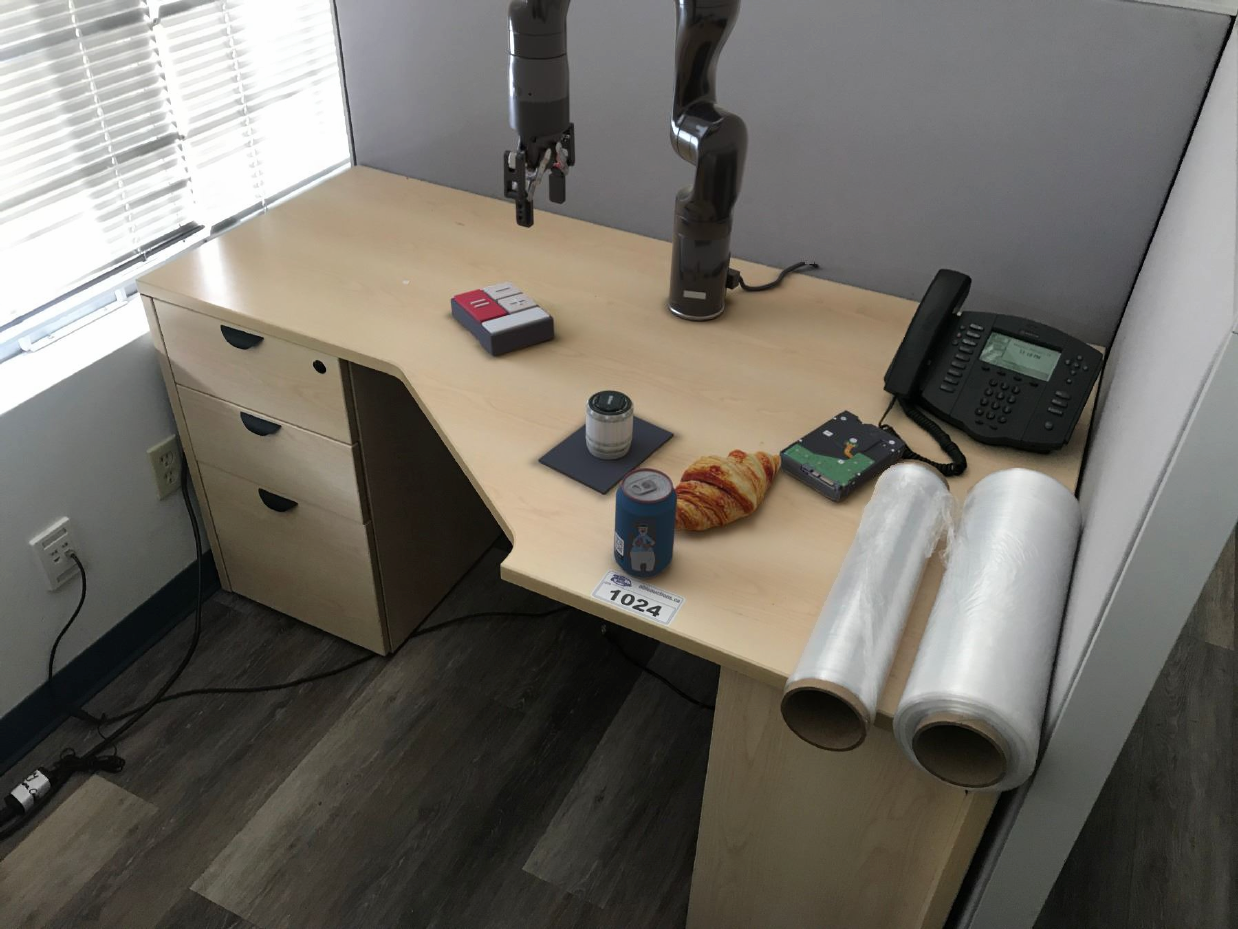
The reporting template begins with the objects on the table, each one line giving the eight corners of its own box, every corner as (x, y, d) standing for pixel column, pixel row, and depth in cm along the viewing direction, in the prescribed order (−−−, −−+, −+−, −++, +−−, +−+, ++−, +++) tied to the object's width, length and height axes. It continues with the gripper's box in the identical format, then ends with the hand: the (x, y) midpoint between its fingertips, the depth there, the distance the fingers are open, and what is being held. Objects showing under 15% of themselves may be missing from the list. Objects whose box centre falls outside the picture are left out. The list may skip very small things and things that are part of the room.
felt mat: (610, 407, 142) (610, 404, 142) (673, 435, 137) (673, 433, 137) (538, 461, 132) (538, 459, 131) (604, 494, 127) (604, 492, 126)
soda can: (653, 535, 121) (658, 458, 113) (682, 571, 116) (690, 493, 109) (603, 552, 118) (605, 475, 111) (631, 590, 114) (635, 511, 106)
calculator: (509, 277, 163) (554, 313, 153) (511, 301, 166) (555, 338, 156) (448, 294, 159) (490, 331, 148) (451, 317, 161) (492, 356, 151)
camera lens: (582, 458, 132) (582, 410, 127) (589, 431, 137) (590, 383, 132) (628, 464, 131) (630, 415, 126) (634, 435, 136) (636, 388, 131)
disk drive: (840, 424, 140) (775, 467, 132) (844, 408, 139) (778, 450, 130) (903, 458, 135) (838, 505, 126) (907, 441, 133) (842, 488, 124)
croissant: (757, 478, 135) (743, 424, 133) (813, 483, 127) (799, 425, 125) (645, 545, 124) (627, 487, 121) (700, 555, 116) (682, 493, 114)
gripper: (536, 111, 115) (539, 240, 125) (593, 78, 125) (591, 200, 135) (481, 100, 117) (488, 227, 127) (541, 68, 127) (543, 188, 137)
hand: (541, 213), depth 131 cm, fingers open, 8 cm apart
